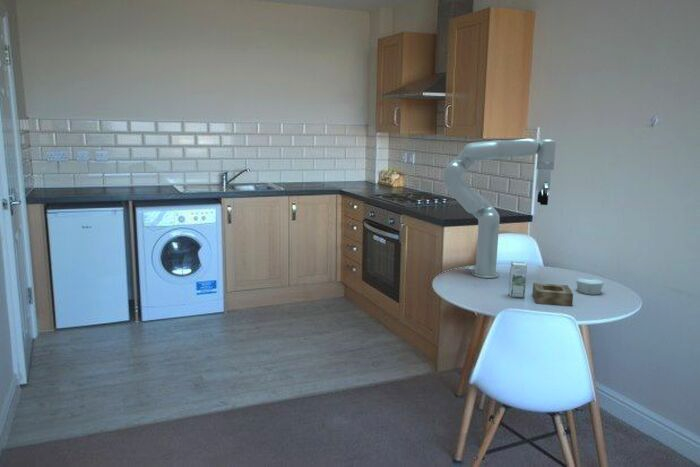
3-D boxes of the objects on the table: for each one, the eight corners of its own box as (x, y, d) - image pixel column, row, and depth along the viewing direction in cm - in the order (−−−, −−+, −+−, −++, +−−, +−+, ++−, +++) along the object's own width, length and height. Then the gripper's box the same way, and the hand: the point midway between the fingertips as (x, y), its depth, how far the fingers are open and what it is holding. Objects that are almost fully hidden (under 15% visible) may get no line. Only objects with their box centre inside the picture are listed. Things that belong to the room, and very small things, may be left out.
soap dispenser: (521, 294, 251) (524, 261, 248) (524, 298, 245) (527, 264, 243) (508, 293, 251) (510, 260, 249) (510, 297, 246) (513, 263, 243)
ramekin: (595, 289, 263) (596, 277, 262) (607, 295, 252) (608, 284, 251) (571, 288, 263) (572, 277, 262) (581, 295, 252) (582, 283, 251)
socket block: (535, 303, 238) (536, 291, 237) (532, 294, 252) (533, 282, 251) (572, 305, 235) (573, 293, 235) (566, 296, 249) (567, 285, 248)
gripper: (534, 165, 277) (531, 201, 280) (539, 167, 261) (536, 205, 264) (550, 165, 276) (547, 201, 279) (556, 167, 259) (553, 206, 262)
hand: (542, 203), depth 271 cm, fingers open, 9 cm apart
